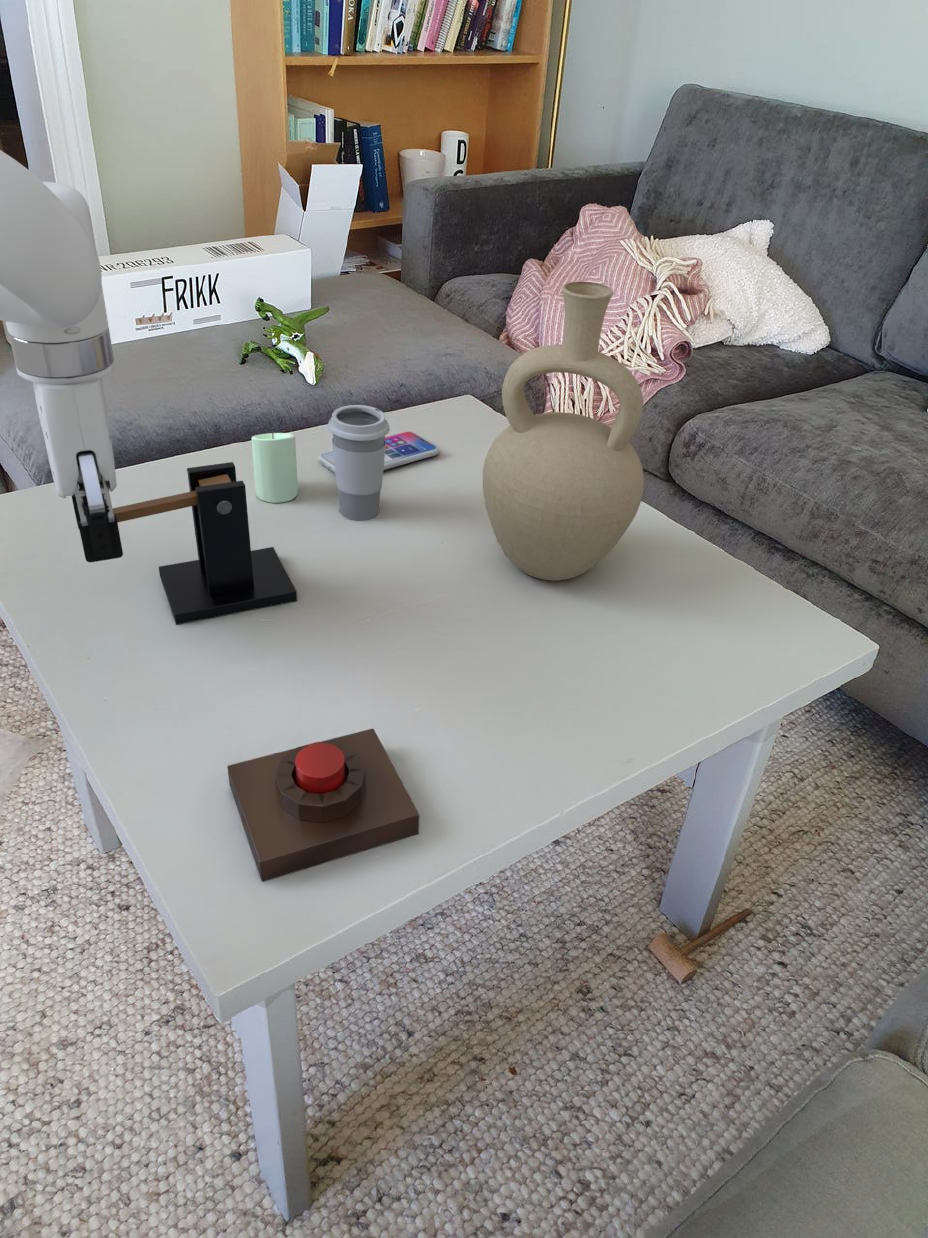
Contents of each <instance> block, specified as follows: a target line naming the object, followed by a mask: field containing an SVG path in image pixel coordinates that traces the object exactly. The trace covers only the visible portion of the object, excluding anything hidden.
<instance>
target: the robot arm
mask: <svg viewBox="0 0 928 1238" xmlns="http://www.w3.org/2000/svg"><path fill="white" fill-rule="evenodd" d="M102 275H103V274H102V269H101V262H100V258H99V255H98V252H97V246H96V239H95V234H94V227H93V222H92V215H91V211H90V207H89V205H88V202H87V200H86V198H85V197H84V195H83V194H82V193H81V192H80V191H79V190H77V189H76V188H74V187H72V186H70V185H67V184H63V183H59V182H53V181H42V180H40V178H39V177H38V176H36V175H35V174H34V173H33V172H32V171H30V170H29V169H28V168H27V167H26V166H24V165H23V164H22V163H20V162H19V161H18V160H16V159H15V158H13V157H12V156H10V155H9V154H7V153H6V152H5V151H3V150H1V149H0V321H1V322H5V325H6V329H7V333H8V338H9V342H10V346H11V352H12V354H13V359H14V365H15V369H16V373H17V375H18V376H19V377H20V378H22V379H23V380H25V381H28V382H30V383H31V382H32V384H33V390H34V397H35V404H36V409H37V413H38V417H39V418H38V419H39V422H40V427H41V432H42V436H43V440H44V445H45V448H46V453H47V459H48V462H49V463H48V464H49V467H50V472H51V475H52V480H53V484H54V488H55V493H56V494H57V496H58V497H60V498H62V499H67V498H66V497H69V496H70V497H71V501H72V505H73V510H74V515H75V519H76V525H77V528H78V530H79V534H80V540H81V544H82V549H83V553H84V558H85V561H86V562H88V563H96V562H102V561H103V562H104V561H109V560H113V559H114V560H115V559H120V558H122V557H123V556H124V552H123V545H122V540H121V533H120V528H119V522H117V518H116V516H114V514H113V509H112V508H113V504H112V498H111V494H110V492H113V491H114V490H115V489H116V488H117V487H118V485H117V475H116V464H115V456H114V446H113V438H112V432H111V431H112V430H111V425H110V424H111V423H110V418H109V412H108V407H107V406H108V405H107V401H106V395H105V389H104V381H103V378H105V377H106V376H108V375H109V374H110V373H112V372H113V371H114V370H115V366H116V364H115V358H114V351H113V345H112V339H111V333H110V326H109V320H108V314H107V307H106V302H105V296H104V288H103V283H102V278H103V277H102Z"/></svg>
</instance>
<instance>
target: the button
mask: <svg viewBox="0 0 928 1238" xmlns="http://www.w3.org/2000/svg"><path fill="white" fill-rule="evenodd" d="M314 743H315V744H312V743H310V744H311V745H309V746H306V747H305V748H303V749H302V750H301V751H300V752H299V753H298V754H297V756H296V759H295V766H296V779H297V783H298V785H299V786H300V787H301V788H302V789H303V790H305V791H307V792H309V793H316V794H324V793H327V792H331V791H334V790H336V789H337V788H338V787H339V786H340V785H341V784H342V783H343V781H344V778H345V758H344V754H343V753H342V751H341V750H340V749H339V748H338V747H336V746H334V745H332V744H328V743H316V742H314Z"/></svg>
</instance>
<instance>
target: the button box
mask: <svg viewBox="0 0 928 1238" xmlns="http://www.w3.org/2000/svg"><path fill="white" fill-rule="evenodd" d="M315 743H328V744H332V745H334V746H336V747H338V748H339V749H340V750H341V751H342V753H343V754H344V758H345V778H344V781H343V783H342V784H341V785H340V786H339V787H338V788H337V789H336V790H334V791H331V792H327V793H324V794H316V793H309V792H307V791H305V790H303V789H302V788H301V787H300V786H299V785H298V783H297V779H296V766H295V759H296V756H297V754H298V753H299V752H300V751H301V750H302V749H303V748H305V747H306V746H309V745H311V744H315ZM226 769H227V776H228V784H229V788H230V791H231V794H232V798H233V801H234V803H235V806H236V809H237V811H238V816H239V818H240V820H241V824H242V828H243V830H244V833H245V836H246V839H247V842H248V845H249V848H250V851H251V854H252V857H253V860H254V864H255V866H256V870H257V872H258V876H259V878H260V881H261V882H266V881H270V880H273V879H276V878H279V877H282V876H285V875H288V874H293V873H295V872H298V871H299V872H300V871H302V870H306V869H308V868H312V867H315V866H318V865H321V864H324V863H329V862H331V861H335V860H337V859H341V858H345V857H347V856H350V855H353V854H357V853H360V852H363V851H366V850H370V849H373V848H377V847H379V846H383V845H386V844H390V843H393V842H396V841H400V840H402V839H406V838H409V837H413V836H415V835H418V834H419V828H420V826H419V825H420V813H419V811H418V809H417V807H416V805H415V804H414V802H413V800H412V798H411V797H410V794H409V792H408V790H407V789H406V787H405V785H404V783H403V781H402V779H401V778H400V776H399V774H398V771H397V770H396V768H395V766H394V764H393V762H392V761H391V759H390V757H389V755H388V753H387V751H386V749H385V748H384V745H383V743H382V742H381V740H380V738H379V736H378V734H377V732H376V730H375V729H374V728H368V729H366V730H361V731H358V732H354V733H349V734H346V735H341V736H338V737H334V738H329V739H327V740H321V741H316V742H313V743H308V744H304V745H300V746H297V747H295V748H291V749H287V750H284V751H279V752H277V753H271V754H267V755H263V756H260V757H256V758H252V759H247V760H245V761H241V762H240V761H239V762H237V763H233V764H229V765H227V766H226Z"/></svg>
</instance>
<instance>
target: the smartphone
mask: <svg viewBox="0 0 928 1238" xmlns="http://www.w3.org/2000/svg"><path fill="white" fill-rule="evenodd" d="M385 443H386V444H385V456H384V468H383V471H385V470H389V469H391V468H392V469H393V468H396V467H400V466H403V465H406V464H410V463H414V462H417V461H420V460H424V459H427V458H431V457H434V456H437V455H438V454H439V453H440V448H439V447H438V446H437V445H435V444H434V443H432V442H430V441H429V440H427V439H425V438H424V437H422V436H421V435H419V434H417V433H416V432H414V431H403V432H400V433H395V434H391V435H388V436H385ZM318 462H319V463H320V464H322V465H323V466H324V467H326V468H327V469H328V470H330V471H331V472H333V473H334V474H335V466H334V456H333V450H330V451H328V452H323V453H321V454H320V455H318Z"/></svg>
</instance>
